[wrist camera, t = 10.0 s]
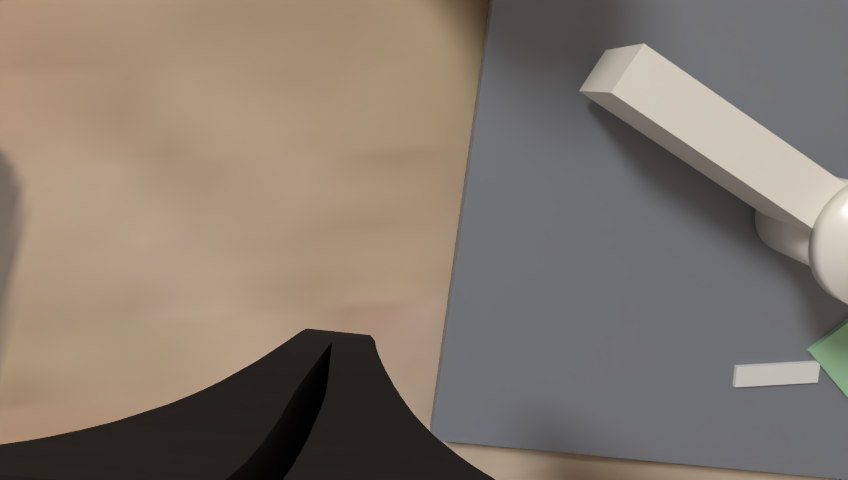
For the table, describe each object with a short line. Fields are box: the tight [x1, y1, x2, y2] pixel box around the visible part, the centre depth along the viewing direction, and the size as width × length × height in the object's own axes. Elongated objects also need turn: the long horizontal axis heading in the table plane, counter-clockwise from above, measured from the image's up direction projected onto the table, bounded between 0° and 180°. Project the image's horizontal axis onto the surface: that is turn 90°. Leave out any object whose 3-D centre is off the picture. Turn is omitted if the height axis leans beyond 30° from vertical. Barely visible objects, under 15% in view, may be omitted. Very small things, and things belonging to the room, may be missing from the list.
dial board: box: [430, 0, 848, 480], centre depth 20 cm, size 18×22×1 cm
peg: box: [579, 43, 848, 304], centre depth 17 cm, size 15×4×4 cm, turn 58°
